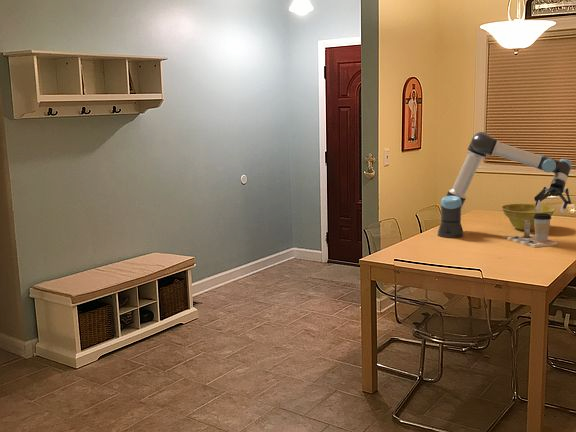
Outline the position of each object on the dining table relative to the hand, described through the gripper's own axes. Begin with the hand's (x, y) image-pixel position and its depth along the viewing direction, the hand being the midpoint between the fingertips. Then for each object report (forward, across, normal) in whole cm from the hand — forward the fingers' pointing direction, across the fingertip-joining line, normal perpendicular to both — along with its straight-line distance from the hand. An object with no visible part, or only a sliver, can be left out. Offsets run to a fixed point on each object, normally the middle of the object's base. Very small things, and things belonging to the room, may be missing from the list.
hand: (548, 211), depth 355 cm
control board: (+17, +6, -8) cm, 20 cm away
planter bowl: (-9, +22, -34) cm, 41 cm away
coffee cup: (+17, 0, -5) cm, 18 cm away
